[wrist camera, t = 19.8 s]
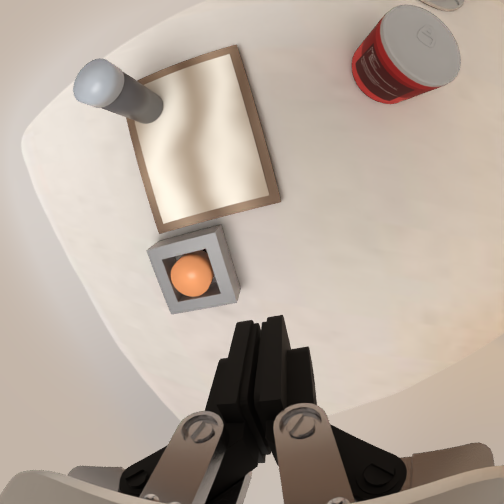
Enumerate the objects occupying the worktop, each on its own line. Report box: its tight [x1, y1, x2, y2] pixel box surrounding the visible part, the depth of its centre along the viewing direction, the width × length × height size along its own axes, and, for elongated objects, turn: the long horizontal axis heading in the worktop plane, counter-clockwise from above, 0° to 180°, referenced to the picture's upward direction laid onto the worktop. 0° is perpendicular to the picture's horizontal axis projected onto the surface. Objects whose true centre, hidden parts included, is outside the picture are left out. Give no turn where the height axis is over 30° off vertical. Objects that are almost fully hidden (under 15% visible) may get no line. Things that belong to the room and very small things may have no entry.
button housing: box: [147, 225, 241, 314], centre depth 32 cm, size 8×8×4 cm
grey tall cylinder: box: [73, 59, 163, 124], centre depth 22 cm, size 4×4×11 cm
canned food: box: [352, 5, 461, 104], centre depth 20 cm, size 8×8×11 cm
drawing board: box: [126, 45, 281, 234], centre depth 28 cm, size 14×18×1 cm
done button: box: [171, 250, 215, 297], centre depth 32 cm, size 4×4×3 cm
